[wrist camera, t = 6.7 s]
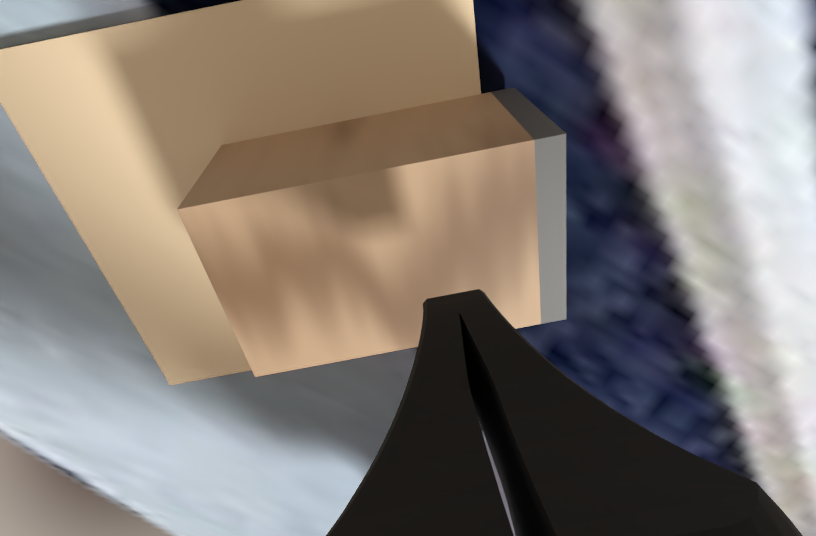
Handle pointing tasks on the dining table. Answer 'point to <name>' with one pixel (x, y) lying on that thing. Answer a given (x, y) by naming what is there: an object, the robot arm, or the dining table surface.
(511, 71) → the dining table surface
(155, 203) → the cork mat
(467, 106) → the small brown box
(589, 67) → the dining table surface
